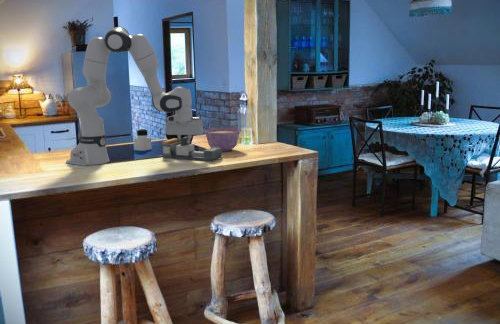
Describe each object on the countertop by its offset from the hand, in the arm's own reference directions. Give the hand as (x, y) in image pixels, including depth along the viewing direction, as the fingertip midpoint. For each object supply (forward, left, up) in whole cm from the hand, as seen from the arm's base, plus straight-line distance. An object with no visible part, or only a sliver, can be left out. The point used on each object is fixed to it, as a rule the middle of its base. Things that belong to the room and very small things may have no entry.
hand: (184, 143), depth 263 cm
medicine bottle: (-36, +12, -8) cm, 39 cm away
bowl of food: (+10, +25, -8) cm, 28 cm away
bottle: (-22, +31, -8) cm, 39 cm away
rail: (+4, 0, -8) cm, 9 cm away
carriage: (0, 0, -6) cm, 6 cm away
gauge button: (-9, 0, 0) cm, 9 cm away
